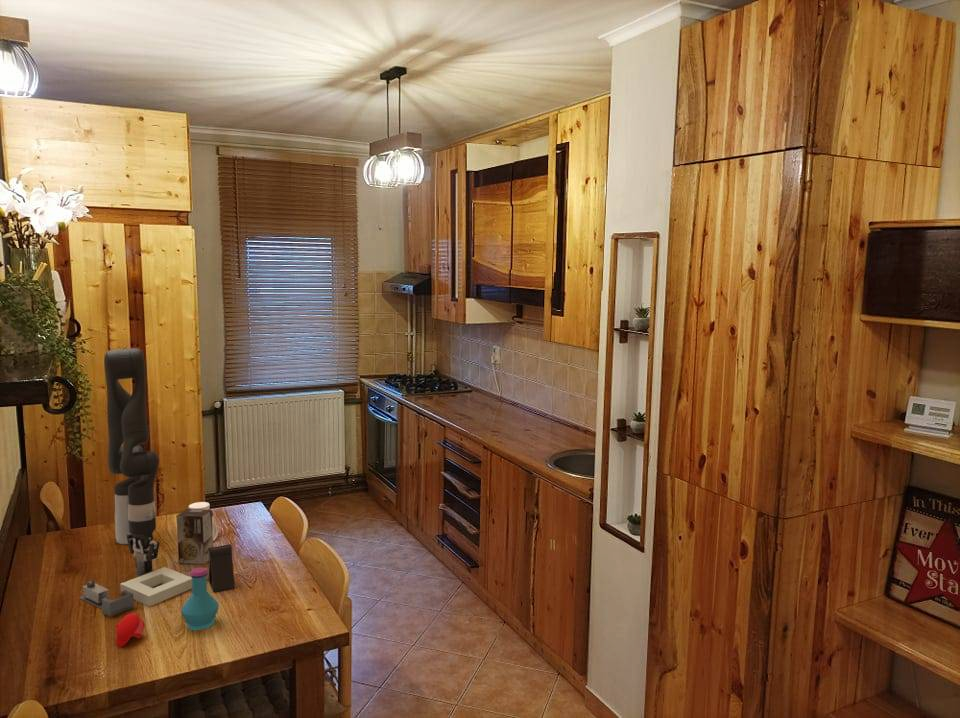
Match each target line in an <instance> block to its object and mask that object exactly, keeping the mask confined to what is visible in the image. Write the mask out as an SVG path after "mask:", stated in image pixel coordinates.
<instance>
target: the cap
mask: <svg viewBox="0 0 960 718" xmlns="http://www.w3.org/2000/svg"><path fill="white" fill-rule="evenodd" d="M144 631H145V621H144V620H143V619H142V618H140V615H139V614H136V613H133V612H131V613H129V614H126V615H124V616H123V618H122V619H121V620H120V621H119V622H118V623H117V624H116V632H115V634H116V635H115V636H116V638H115V643H116V646H117V647H118V648H122V647H123V646H126V645H127V643H128V642H129V641H130V639H131V637H136V638H138V639H142V637H143V635H144Z"/></svg>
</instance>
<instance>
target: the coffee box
mask: <svg viewBox="0 0 960 718" xmlns="http://www.w3.org/2000/svg"><path fill="white" fill-rule="evenodd" d="M212 511H213V510H212V509H211V510H200V509H189V508H186V509H184V510H182V511H181V512H179V513H178V514H177V515H175V516H176V532H177V533H176V534H177V553H178V554H177V555H178V556H177V557H178V563H179V564H194V565H195V564H197V565H205V564H207V563H208V562H209V548H212V547H214V544H213V543H214V542H213V535H212Z"/></svg>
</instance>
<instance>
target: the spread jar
mask: <svg viewBox="0 0 960 718" xmlns="http://www.w3.org/2000/svg"><path fill="white" fill-rule="evenodd" d="M210 506H211V505H210V503H209V502H207V501H198V502H197V501H196V502H194V503H190V504H189V505H188V509H200V510H212V509H211V508H210ZM218 534H219V529H218V527H217V525H216V524H215V516H214V512H213V510H212V535H213V541H215V540H216V539H217V537H218Z"/></svg>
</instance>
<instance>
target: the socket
mask: <svg viewBox="0 0 960 718" xmlns="http://www.w3.org/2000/svg"><path fill="white" fill-rule="evenodd" d="M119 584H120V594H121V595H122V591H124V590H126V591H128V592H130V593H133V597H134V601H136V602H138V603H140V604H144V605H145V606H148V607H151V606H154V605H156V604H158V603H161V602H163V601H165V600H168V599H171V598H173V597H175V596H177V595H180V594H183V593H184V592H187V591H190V590H192V578H191V576H189V575H186V574H183V573H181V572H178V571H176V570H173V569H171V568H168V567H166V566H163V567H161V568H158V569H155V570H152V571H151V572H150V573H147V574H145V575H142V576H139V577H137V576H136V577H134V578H131V579H129V580H125V581H124V582H121V583H119ZM158 585H159V586H158ZM155 586H156V587H155Z"/></svg>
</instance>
